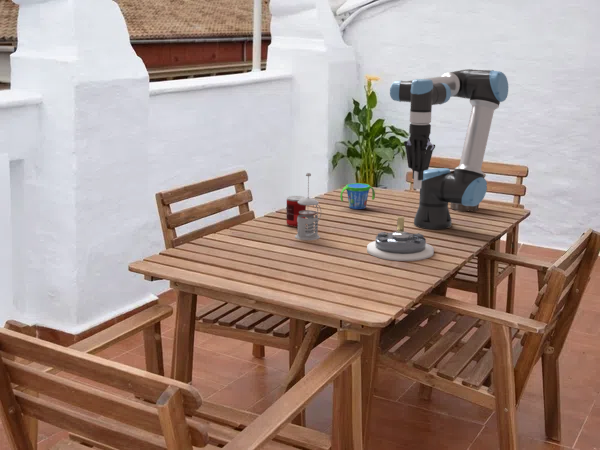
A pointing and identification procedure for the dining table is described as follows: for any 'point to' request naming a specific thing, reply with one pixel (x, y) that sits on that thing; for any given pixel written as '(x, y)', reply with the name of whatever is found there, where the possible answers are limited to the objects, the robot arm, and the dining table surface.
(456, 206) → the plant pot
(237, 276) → the dining table surface
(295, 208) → the canned food
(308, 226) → the french press
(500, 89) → the robot arm
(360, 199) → the snack cup
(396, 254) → the housing plate
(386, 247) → the grey round piece
